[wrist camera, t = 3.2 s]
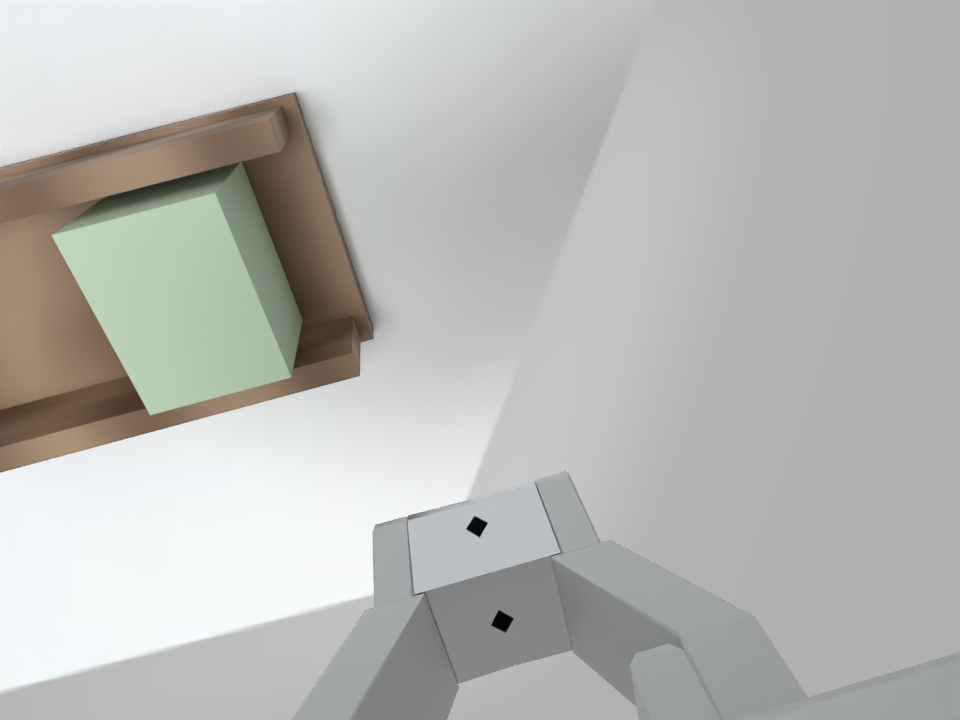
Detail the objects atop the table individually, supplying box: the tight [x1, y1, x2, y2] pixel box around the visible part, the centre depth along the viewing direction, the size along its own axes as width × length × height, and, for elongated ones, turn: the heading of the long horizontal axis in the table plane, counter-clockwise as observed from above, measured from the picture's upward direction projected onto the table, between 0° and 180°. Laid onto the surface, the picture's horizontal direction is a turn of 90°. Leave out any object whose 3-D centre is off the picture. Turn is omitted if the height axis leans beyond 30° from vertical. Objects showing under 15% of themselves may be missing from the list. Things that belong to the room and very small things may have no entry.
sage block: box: [51, 162, 303, 415], centre depth 24 cm, size 5×7×5 cm
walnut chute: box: [0, 92, 373, 472], centre depth 25 cm, size 25×10×4 cm, turn 102°
